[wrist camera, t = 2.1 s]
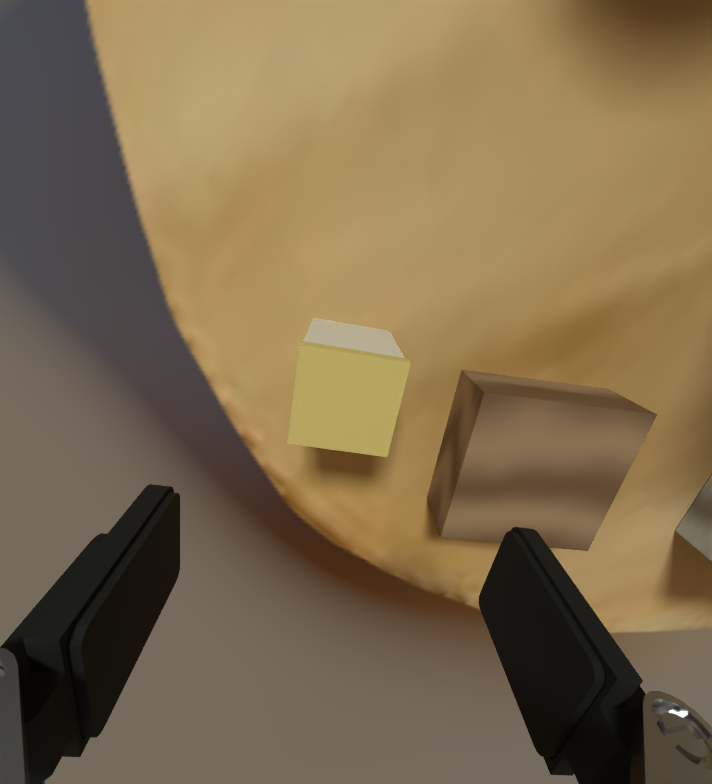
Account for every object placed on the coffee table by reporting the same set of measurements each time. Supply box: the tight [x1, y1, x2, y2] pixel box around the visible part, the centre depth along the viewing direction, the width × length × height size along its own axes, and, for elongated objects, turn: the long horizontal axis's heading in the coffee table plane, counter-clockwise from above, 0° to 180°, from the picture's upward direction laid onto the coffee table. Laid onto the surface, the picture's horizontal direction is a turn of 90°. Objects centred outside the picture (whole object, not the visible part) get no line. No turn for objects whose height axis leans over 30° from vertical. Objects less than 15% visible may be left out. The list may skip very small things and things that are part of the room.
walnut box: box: [427, 370, 656, 551], centre depth 28 cm, size 12×12×5 cm
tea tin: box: [287, 318, 411, 457], centre depth 23 cm, size 6×6×8 cm
